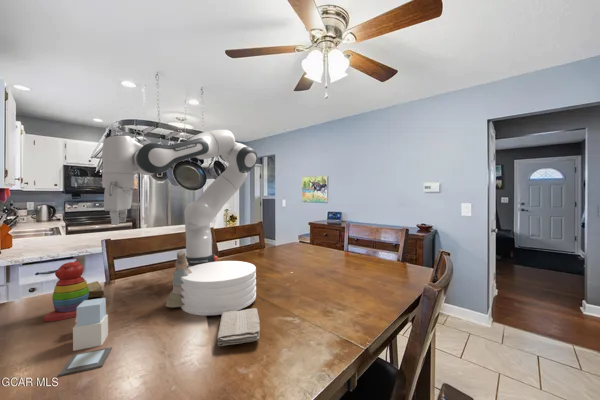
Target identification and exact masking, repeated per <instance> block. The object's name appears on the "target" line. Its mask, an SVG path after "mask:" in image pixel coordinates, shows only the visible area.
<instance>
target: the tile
mask: <svg viewBox="0 0 600 400" xmlns="http://www.w3.org/2000/svg"><path fill="white" fill-rule="evenodd" d="M112 348H113V347H112V346H110V347H106V348H105V347H104V348H99V349H95V350H90V351H85V352H80V353H75V354H72V356H71V357H70V358H69V359H68V361H67V362H66V364H65V365H64V366H63V367H62V369H61V370H60V372H59V373H58V375H57V377H62V376H66V375H67V376H68V375H71V374H76V373H81V372H86V371H89V370H95V369H99V368H103V366H104V364H105V362H106V361H107V358H108V357H109V355H110V353H111V351H112Z"/></svg>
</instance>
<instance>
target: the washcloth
mask: <svg viewBox="0 0 600 400" xmlns="http://www.w3.org/2000/svg"><path fill="white" fill-rule="evenodd" d="M258 313H259V311H258V308H255V307H253V308H247V309H240V310H237V311H230V312H223V313H222V314H221V317H220V322H219V328H218V333H217V336H216V337H217V338H216V339H217V346H218V347H224V346H229V345H237V344H243V343H251V342H255V341H259V340H260V336H261V334H260V331H261V327H260V326H261V325H260V323H261V322H260V317H259V314H258Z"/></svg>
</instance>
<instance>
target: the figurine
mask: <svg viewBox="0 0 600 400" xmlns="http://www.w3.org/2000/svg"><path fill="white" fill-rule="evenodd" d="M174 265H175V266H174V267H175V269H174V273H173V280H172V284H171V285H172V286H173V287H172V290H171V291H170V293H168V297H167V299H166V304H165V307H168V308H181V306H182V305H185V304H184V303H182V301H181V298H184V297H183V295H181V290H183V288H181V284H183V281H182V280H181V277H183V276H188V274H190V273H192V272H191V271H190V270H189V269H188V268H187V266H188V262H187V259H186V251H184V250H179V251H177V252H176V260H175V263H174Z"/></svg>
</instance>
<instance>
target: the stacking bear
mask: <svg viewBox="0 0 600 400" xmlns="http://www.w3.org/2000/svg"><path fill="white" fill-rule="evenodd" d="M83 273H84V266H83V264H81V262H79V261H78V260H74V261H71V262H70V261H69V262H65V263H63V264H61V265H60V267H59V268H58V269H57V270H56V271H55V272H54V274H55V277H56V278H57V279H58V281H57V282H56V283H55V286H54V289H53V293H52V297H51V301H52V304H53V308H54V310H53V311H50V312H49V313H46V314H45V315H44V316H43V320H44V322H55V321H62V320H68V319H72V318H76V316H77V307H78V306H79V305H80V304H81V303H82V302H83V301H85V300H89V297H88V296H89V288H88V285H87V284H88V282H87V280H86V279H85V277H83V276H82V275H83Z"/></svg>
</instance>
